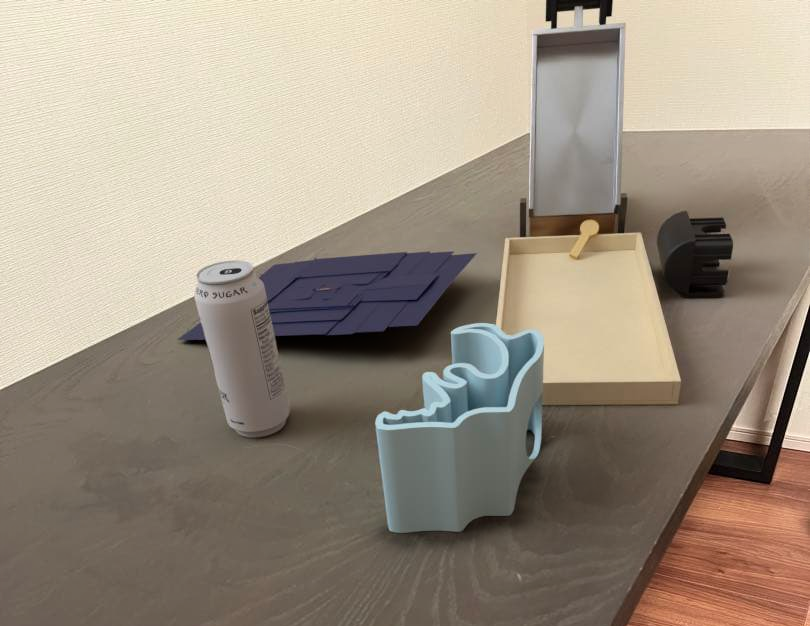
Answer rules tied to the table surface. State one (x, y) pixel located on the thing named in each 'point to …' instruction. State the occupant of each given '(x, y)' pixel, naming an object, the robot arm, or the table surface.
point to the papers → (354, 292)
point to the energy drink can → (242, 347)
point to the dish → (576, 117)
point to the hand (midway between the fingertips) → (577, 24)
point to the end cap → (694, 255)
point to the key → (584, 237)
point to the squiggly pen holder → (465, 433)
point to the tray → (590, 319)
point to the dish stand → (571, 222)
